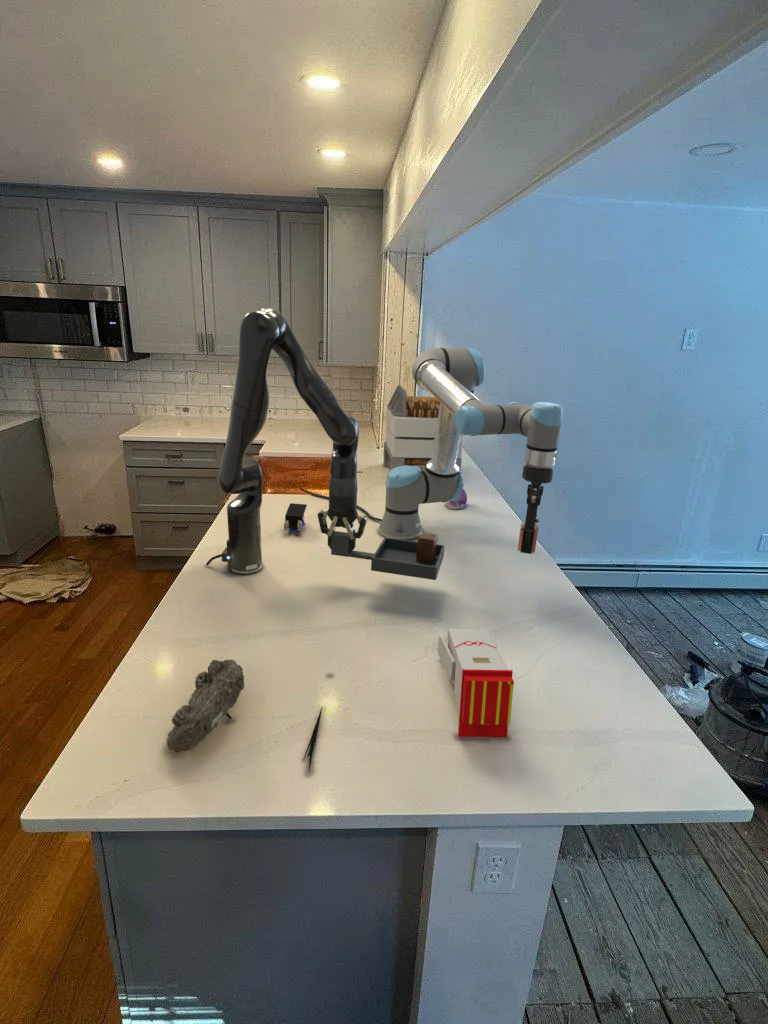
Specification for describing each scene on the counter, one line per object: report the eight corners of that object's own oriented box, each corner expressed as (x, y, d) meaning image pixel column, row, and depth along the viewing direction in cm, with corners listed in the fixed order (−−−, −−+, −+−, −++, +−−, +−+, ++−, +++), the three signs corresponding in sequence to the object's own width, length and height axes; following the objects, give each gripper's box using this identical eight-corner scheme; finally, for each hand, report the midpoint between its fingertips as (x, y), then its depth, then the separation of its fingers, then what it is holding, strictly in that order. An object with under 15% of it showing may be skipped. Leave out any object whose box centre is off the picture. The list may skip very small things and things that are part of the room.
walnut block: (416, 561, 154) (417, 537, 152) (419, 555, 158) (421, 531, 156) (432, 564, 153) (434, 540, 151) (435, 557, 157) (437, 534, 155)
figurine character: (303, 540, 193) (307, 520, 207) (302, 521, 190) (307, 502, 203) (283, 540, 193) (289, 520, 207) (282, 520, 190) (288, 501, 203)
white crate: (382, 463, 289) (386, 382, 275) (445, 464, 293) (451, 384, 279) (390, 482, 257) (394, 392, 243) (460, 483, 261) (468, 394, 247)
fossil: (192, 660, 117) (244, 628, 112) (224, 691, 120) (276, 661, 115) (142, 746, 98) (202, 712, 93) (182, 779, 101) (242, 748, 96)
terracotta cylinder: (514, 548, 152) (517, 524, 150) (524, 545, 155) (527, 521, 152) (528, 554, 149) (531, 530, 146) (538, 550, 152) (542, 526, 149)
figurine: (453, 511, 224) (457, 474, 219) (439, 503, 233) (442, 468, 228) (473, 508, 228) (476, 472, 223) (458, 500, 237) (462, 466, 232)
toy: (488, 613, 130) (523, 677, 101) (484, 667, 133) (517, 744, 104) (435, 612, 130) (455, 676, 101) (432, 666, 133) (451, 743, 103)
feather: (331, 679, 122) (336, 673, 122) (307, 777, 96) (313, 769, 95) (324, 675, 122) (329, 669, 121) (298, 772, 95) (304, 764, 95)
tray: (323, 563, 151) (324, 542, 149) (340, 542, 165) (341, 523, 163) (435, 580, 145) (437, 558, 143) (443, 557, 159) (445, 537, 157)
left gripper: (312, 491, 150) (312, 550, 155) (365, 498, 147) (362, 558, 153) (322, 484, 157) (321, 540, 162) (372, 490, 154) (369, 547, 159)
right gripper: (553, 476, 135) (539, 564, 143) (555, 458, 151) (542, 539, 159) (521, 472, 137) (509, 559, 145) (526, 455, 153) (515, 534, 161)
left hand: (341, 548), depth 157 cm, fingers closed on tray, 5 cm apart
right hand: (526, 548), depth 152 cm, fingers closed on terracotta cylinder, 5 cm apart
